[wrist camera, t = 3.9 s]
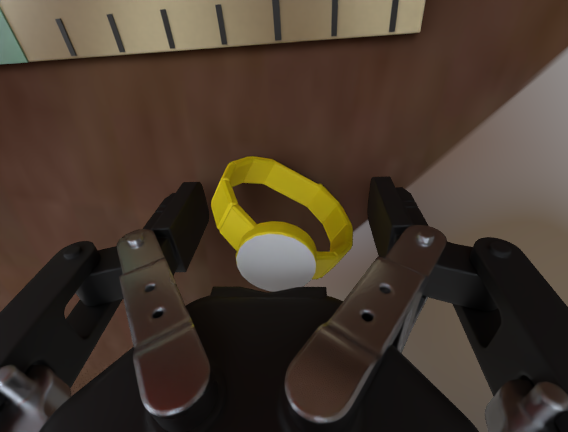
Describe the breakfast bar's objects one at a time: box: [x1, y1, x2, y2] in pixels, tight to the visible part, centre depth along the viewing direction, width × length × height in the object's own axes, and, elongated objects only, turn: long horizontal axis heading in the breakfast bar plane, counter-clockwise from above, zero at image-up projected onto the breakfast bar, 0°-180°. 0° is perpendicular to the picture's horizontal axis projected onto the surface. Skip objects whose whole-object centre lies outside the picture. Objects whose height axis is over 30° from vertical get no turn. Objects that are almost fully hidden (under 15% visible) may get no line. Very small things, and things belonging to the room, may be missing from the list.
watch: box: [211, 156, 353, 292], centre depth 12 cm, size 6×3×6 cm, turn 62°
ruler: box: [0, 0, 426, 64], centre depth 11 cm, size 24×3×1 cm, turn 94°
